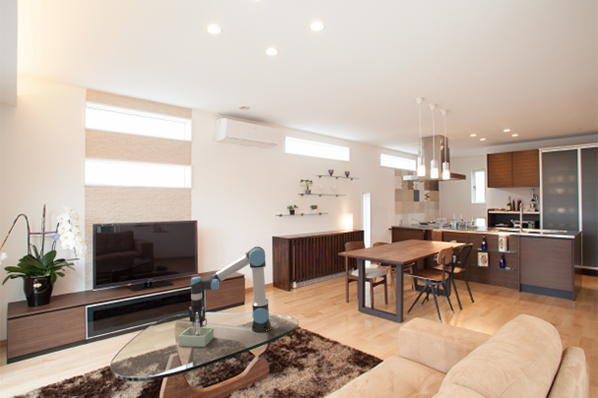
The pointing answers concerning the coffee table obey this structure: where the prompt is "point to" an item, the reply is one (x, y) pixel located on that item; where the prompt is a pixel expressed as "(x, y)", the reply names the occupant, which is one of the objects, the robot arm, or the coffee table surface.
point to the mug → (198, 319)
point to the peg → (197, 328)
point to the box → (196, 337)
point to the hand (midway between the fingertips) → (197, 331)
